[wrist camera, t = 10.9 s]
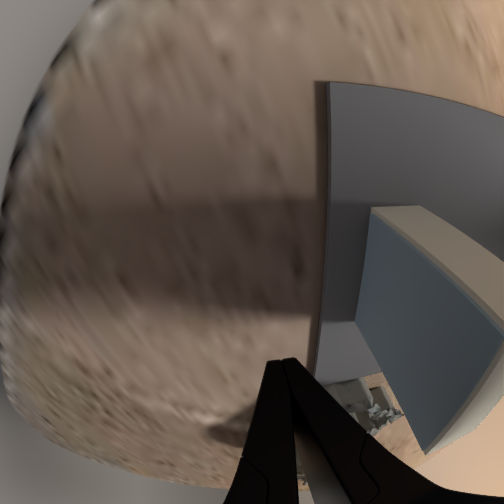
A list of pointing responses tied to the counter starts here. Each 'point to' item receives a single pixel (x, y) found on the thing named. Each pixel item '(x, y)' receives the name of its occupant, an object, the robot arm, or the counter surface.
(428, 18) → the counter surface
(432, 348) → the card box
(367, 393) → the egg carton
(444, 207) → the mat
